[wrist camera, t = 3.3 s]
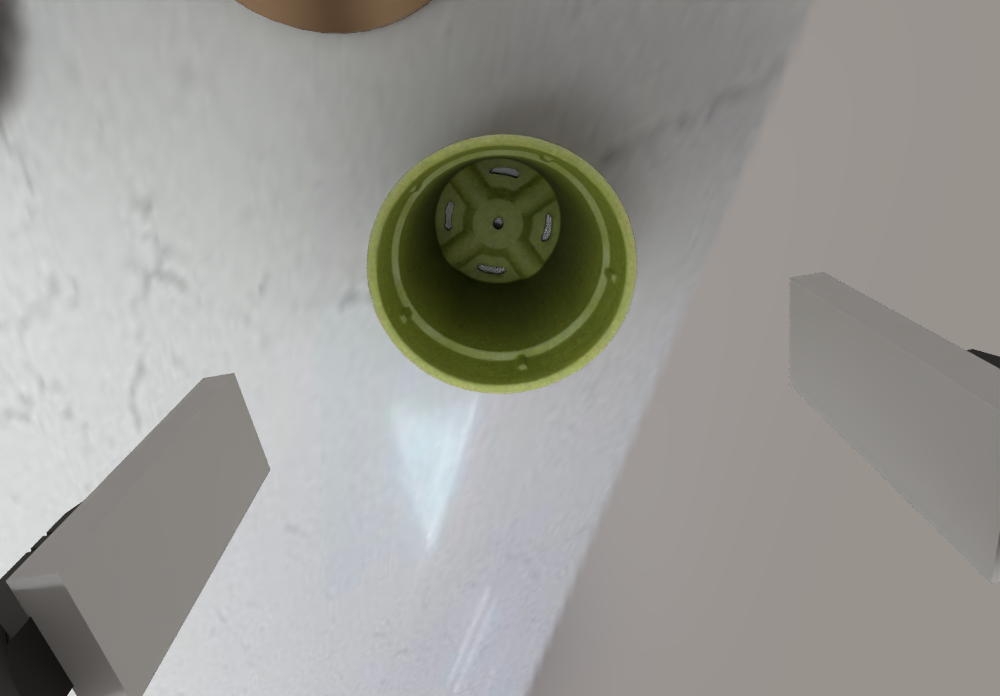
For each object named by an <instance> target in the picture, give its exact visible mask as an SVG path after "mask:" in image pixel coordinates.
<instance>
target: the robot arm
mask: <svg viewBox="0 0 1000 696" xmlns="http://www.w3.org/2000/svg"><path fill="white" fill-rule="evenodd" d="M789 328H790V330H789V332H790V333H789V334H790V335H789V338H790V339H789V343H790V344H789V348H790V349H789V353H790V354H789V385H790V386H791V387H792V388H793V389H794V390H795V391H796V392H797V393H798V394H799V395H800V396H801V397H802V398H803V399H804V400H805V401H806V402H807V403H808V404H809V405H810V406H811V407H812V408H813V409H814V410H815V411H816V412H817V413H818V414H819V415H820V416H821V417H822V418H823V419H824V420H825V421H826V422H827V423H828V424H829V425H830V426H831V427H832V428H833V429H834V430H836V431H837V433H838V434H839V435H840V436H842V438H843V439H845V440H846V441H847V442H848V443H849V444H850V445H851V446H852V447H853V448H854V449H855V450H856V451H857V452H858V453H859V454H860V455H861V456H862V457H863V458H864V459H865V460H866V461H867V462H868V463H869V464H870V465H871V466H872V467H873V468H874V469H875V470H876V471H877V472H878V473H879V474H880V475H881V476H882V477H883V478H884V479H885V480H886V481H887V482H888V483H889V484H890V485H891V486H892V487H893V488H894V489H895V490H896V491H897V492H898V493H899V494H900V495H901V496H902V497H904V499H905V500H906V501H907V502H908V503H909V504H911V505H912V507H913V508H915V509H916V510H917V511H918V512H919V513H920V514H921V515H922V516H923V517H924V518H925V519H926V520H927V521H928V522H929V523H930V524H931V525H932V526H933V527H934V528H935V529H936V530H937V531H938V532H939V533H940V534H941V535H942V536H943V537H944V538H945V539H946V540H947V541H948V542H949V543H950V544H951V545H952V546H953V547H954V548H955V549H956V550H957V551H958V552H959V553H960V554H961V555H962V556H963V557H964V558H965V559H966V560H967V561H968V562H969V563H970V564H971V565H972V566H973V567H974V568H975V569H976V570H978V572H979V573H980V574H982V576H983V577H985V578H986V579H987V580H988V581H989V582H990V583H991V584H994V583H1000V357H999V356H995V355H992V354H988V353H984V352H981V351H977V350H974V349H972V350H965V349H963V348H961V347H959V346H957V345H955V344H954V343H952V342H950V341H948V340H946V339H945V338H943V337H941V336H939V335H937V334H936V333H934V332H932V331H930V330H928V329H926V328H925V327H923V326H921V325H919V324H917V323H916V322H914V321H912V320H910V319H908V318H906V317H905V316H903V315H901V314H899V313H897V312H895V311H894V310H892V309H890V308H888V307H886V306H885V305H883V304H881V303H879V302H877V301H875V300H874V299H872V298H870V297H868V296H866V295H865V294H863V293H861V292H859V291H857V290H855V289H854V288H852V287H850V286H848V285H846V284H845V283H843V282H841V281H839V280H837V279H835V278H834V277H832V276H830V275H828V274H826V273H824V272H821V273H815V274H810V275H804V276H798V277H792V278H790V327H789ZM269 471H270V467H269V465H268V462H267V459H266V457H265V454H264V451H263V449H262V446H261V443H260V441H259V438H258V435H257V433H256V430H255V427H254V425H253V422H252V419H251V417H250V414H249V411H248V409H247V406H246V403H245V401H244V398H243V395H242V393H241V390H240V387H239V385H238V382H237V379H236V377H235V374H234V373H231V374H225V375H220V376H214V377H208V378H203V379H202V380H201V381H200V382H199V383H198V384H197V385H196V386H195V387H194V388H193V389H192V390H191V391H190V392H189V393H188V394H187V395H186V396H185V397H184V398H183V399H182V400H181V402H180V403H179V404H178V405H177V406H176V407H175V408H174V409H173V410H172V411H171V412H170V413H169V414H168V415H167V416H166V417H165V418H164V419H163V420H162V421H161V422H160V423H159V424H158V425H157V426H156V427H155V428H154V429H153V430H152V431H151V432H150V433H149V434H148V435H147V436H146V437H145V438H144V439H143V441H142V442H141V443H140V444H139V445H138V446H137V447H136V448H135V449H134V450H133V451H132V452H131V453H130V454H129V455H128V456H127V457H126V458H125V459H124V460H123V461H122V462H121V463H120V464H119V465H118V466H117V467H116V468H115V469H114V470H113V471H112V472H111V473H110V474H109V475H108V476H107V477H106V478H105V480H104V481H103V482H102V483H101V484H100V485H99V486H98V487H97V488H96V489H95V490H94V491H93V492H92V493H91V494H90V495H89V496H88V497H87V498H86V499H85V500H84V501H83V502H81V503H80V504H78V505H77V506H75V507H74V508H73V509H71V510H70V511H68V512H67V513H65V514H64V515H63V516H62V517H61V518H60V519H59V520H58V521H57V522H56V523H55V525H54V526H53V527H52V528H51V529H50V530H49V531H48V532H47V536H43V537H42V538H41V539H40V540H39V541H38V542H37V543H36V544H35V545H34V546H33V547H32V548H31V552H27V553H26V554H25V555H24V556H23V557H22V558H21V559H20V560H19V561H18V562H17V563H16V564H15V565H14V566H13V567H12V568H11V569H10V570H9V571H8V572H7V573H6V574H5V575H4V576H3V577H2V578H1V579H0V696H67V695H68V693H69V692H70V691H71V689H73V690H74V692H75V693H76V695H77V696H142V695H143V694H144V692H145V690H146V688H147V687H148V685H149V683H150V681H151V679H152V678H153V676H154V674H155V672H156V671H157V669H158V667H159V665H160V664H161V662H162V660H163V658H164V657H165V655H166V653H167V651H168V649H169V648H170V646H171V644H172V642H173V641H174V639H175V637H176V635H177V634H178V632H179V630H180V628H181V626H182V625H183V623H184V621H185V619H186V618H187V616H188V614H189V612H190V611H191V609H192V607H193V605H194V604H195V602H196V600H197V598H198V596H199V595H200V593H201V591H202V589H203V588H204V586H205V584H206V582H207V581H208V579H209V577H210V575H211V574H212V572H213V570H214V568H215V566H216V565H217V563H218V561H219V559H220V558H221V556H222V554H223V552H224V551H225V549H226V547H227V545H228V543H229V542H230V540H231V538H232V536H233V535H234V533H235V531H236V529H237V528H238V526H239V524H240V522H241V521H242V519H243V517H244V515H245V513H246V512H247V510H248V508H249V506H250V505H251V503H252V501H253V499H254V498H255V496H256V494H257V492H258V491H259V489H260V487H261V485H262V483H263V482H264V480H265V478H266V476H267V475H268V473H269Z"/></svg>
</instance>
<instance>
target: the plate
mask: <svg viewBox="0 0 1000 696" xmlns="http://www.w3.org/2000/svg"><path fill="white" fill-rule="evenodd" d="M235 1H237V2H239V3H240V4H242V5H243V6H245V7H247V8H248V9H250V10H252V11H254V12H256V13H258V14H260V15H262V16H265V17H267V18H269V19H271V20H273V21H277V22H280V23H283V24H286V25H289V26H292V27H296V28H299V29H303V30H309V31H315V32H321V33H341V34H347V33H355V32H363V31H369V30H373V29H377V28H380V27H384V26H387V25H390V24H392V23H394V22H397V21H399V20H401V19H403V18H406V17H408V16H410V15H411V14H413V13H414V12H416V11H417V10H419V9H421V8H422V7H424V6H425V5H427V4H428V3H429V2H430V1H432V0H235Z"/></svg>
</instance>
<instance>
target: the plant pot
mask: <svg viewBox="0 0 1000 696" xmlns="http://www.w3.org/2000/svg"><path fill="white" fill-rule="evenodd" d="M499 167H507V168H512V169H516V170H517V171H518V172H519V177H518V178H514V177H511V176H507V175H501V174H496V173H494V174H491V173H490V171H491V170H492V169H493V168H499ZM448 202H453V203H454V207H453V212H452V219H451V226H452V228H451V229H450V230H449V231H448V229H446V228H445V219H446V217H445V208H446V206H447V204H448ZM546 214H549V215H550V216H551V217H552V226H551V234H550V236H549V239H547V241H546V242H542V236H543V232H544V229H545V223H546V222H545V219H546ZM496 218H501V219H502V220H503V226H502V228H501V229H496V228H495V227H494V226H493V223H494V220H495V219H496ZM479 264H482V265H487V266H490V267H503V268H505V270H506V271H505V272H504V273H502V274H499V275H494V274H489V273H484V272H482V271H480V270H479V269H478V268H477V266H478V265H479ZM636 276H637V252H636V244H635V239H634V234H633V230H632V227H631V224H630V221H629V218H628V216H627V213H626V211H625V209H624V207H623V205H622V203H621V202H620V200H619V198H618V196H617V195H616V193H615V192H614V190H613V189H612V187H611V186H610V185H609V183H608V182H607V181H606V180H605V179H604V177H603V176H602V175H601V174H600V173H599V172H598V171H597V170H596V169H595V168H594V167H593V166H592V165H590V164H589V163H588V162H586V161H585V160H584V159H582V158H581V157H579V156H577V155H576V154H574V153H573V152H571V151H569V150H567V149H565V148H563V147H561V146H558V145H556V144H554V143H551V142H548V141H545V140H542V139H538V138H534V137H529V136H523V135H516V134H493V135H484V136H479V137H474V138H469V139H465V140H462V141H459V142H456V143H454V144H451V145H448V146H446V147H444V148H442V149H440V150H438V151H436V152H434V153H432V154H430V155H429V156H428V157H426V158H425V159H423V160H422V161H420V162H419V163H418V164H416V165H415V166H414V167H413V168H412V169H411V170H409V171H408V172H407V173H406V174H405V175H404V176H403V177H402V178H401V179H400V180H399V181H398V183H397V184H396V185H395V186H394V188H393V189H392V190H391V192H390V193H389V195H388V196H387V197H386V199H385V201H384V203H383V204H382V206H381V208H380V210H379V212H378V214H377V217H376V220H375V222H374V225H373V228H372V231H371V235H370V240H369V245H368V255H367V278H368V286H369V291H370V295H371V299H372V303H373V306H374V309H375V312H376V314H377V317H378V319H379V321H380V323H381V325H382V326H383V328H384V329H385V331H386V333H387V334H388V336H389V337H390V339H391V340H392V341H393V343H394V344H395V345H396V347H397V348H398V349H399V350H400V351H401V352H402V353H403V355H404V356H405V357H407V358H408V359H409V360H410V361H411V362H412V363H414V364H415V365H416V366H417V367H419V368H420V369H421V370H423V371H424V372H426V373H427V374H429V375H431V376H432V377H434V378H436V379H438V380H440V381H443V382H445V383H447V384H450V385H452V386H455V387H458V388H462V389H465V390H470V391H477V392H483V393H496V394H506V393H519V392H525V391H530V390H534V389H537V388H541V387H545V386H548V385H550V384H553V383H556V382H558V381H560V380H562V379H564V378H566V377H568V376H569V375H571V374H573V373H575V372H577V371H578V370H580V369H582V368H583V367H585V366H586V365H587V364H588V363H589V362H590V361H592V360H593V359H594V358H595V357H596V356H597V355H598V354H599V353H600V352H601V351H602V350H603V349H604V348H605V347H606V346H607V345H608V343H609V342H610V341H611V339H612V338H613V337H614V335H615V334H616V333H617V331H618V329H619V328H620V326H621V324H622V323H623V321H624V319H625V316H626V314H627V312H628V310H629V307H630V304H631V300H632V296H633V293H634V288H635V282H636Z"/></svg>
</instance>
